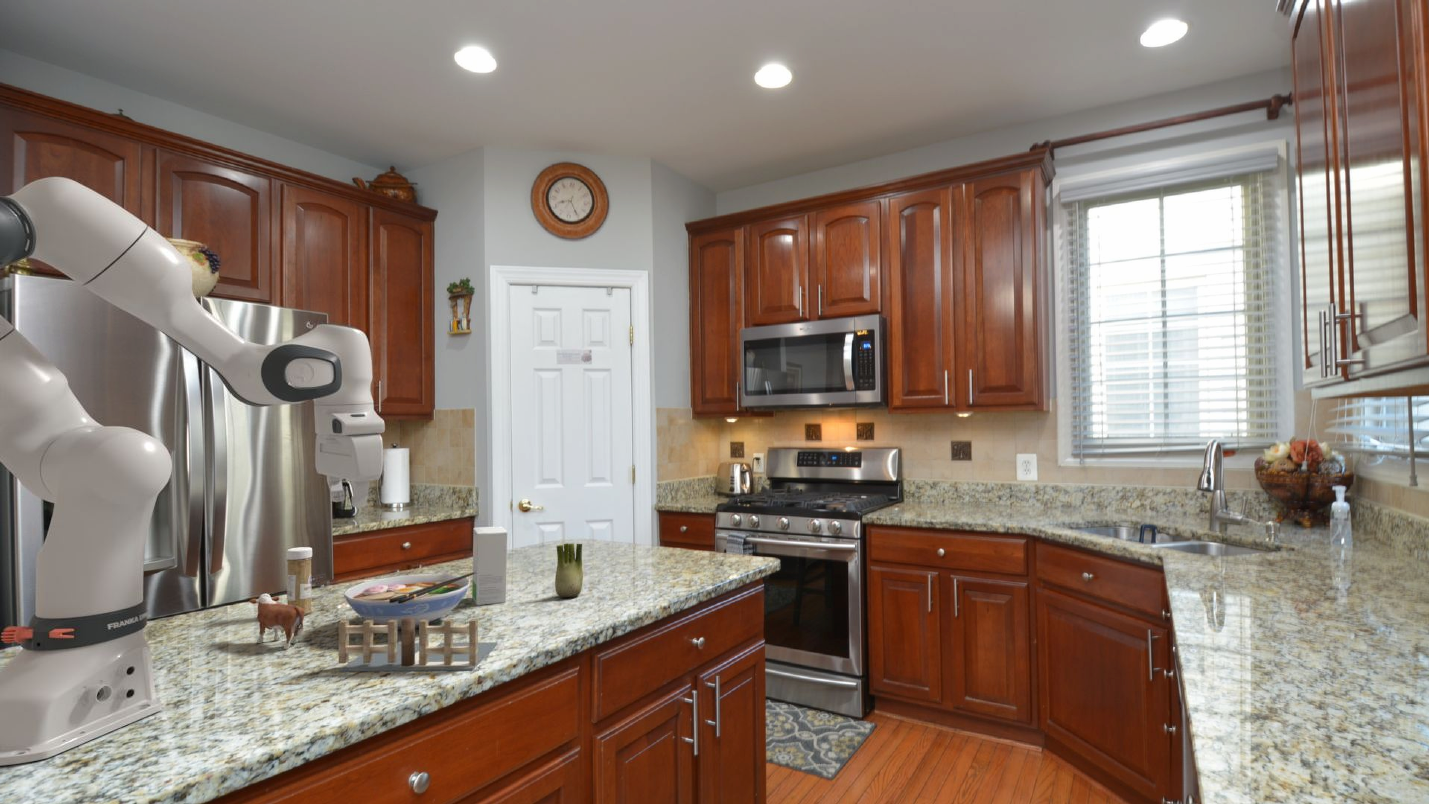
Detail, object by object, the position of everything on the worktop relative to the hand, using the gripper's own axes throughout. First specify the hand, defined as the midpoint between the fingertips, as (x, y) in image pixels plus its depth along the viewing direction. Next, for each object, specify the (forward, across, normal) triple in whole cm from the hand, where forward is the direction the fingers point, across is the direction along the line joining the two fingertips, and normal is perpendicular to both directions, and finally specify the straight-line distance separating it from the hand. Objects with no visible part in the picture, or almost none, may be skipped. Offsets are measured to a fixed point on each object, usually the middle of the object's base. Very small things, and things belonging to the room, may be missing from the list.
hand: (348, 504), depth 119 cm
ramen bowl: (+27, -11, +14) cm, 32 cm away
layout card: (+26, +10, +7) cm, 28 cm away
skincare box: (+28, -16, +34) cm, 47 cm away
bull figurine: (+26, -17, -7) cm, 32 cm away
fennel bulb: (+28, -5, +47) cm, 55 cm away
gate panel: (+25, +8, -1) cm, 26 cm away
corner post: (+25, +13, +4) cm, 29 cm away
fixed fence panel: (+26, +17, +8) cm, 32 cm away
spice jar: (+27, -36, +2) cm, 45 cm away
